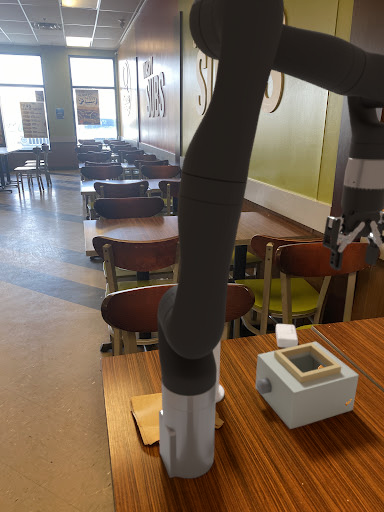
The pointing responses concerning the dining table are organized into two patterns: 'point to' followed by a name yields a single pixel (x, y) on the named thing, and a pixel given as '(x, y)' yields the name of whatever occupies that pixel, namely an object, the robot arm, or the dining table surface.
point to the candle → (218, 387)
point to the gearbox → (305, 383)
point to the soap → (286, 335)
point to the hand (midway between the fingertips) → (353, 266)
